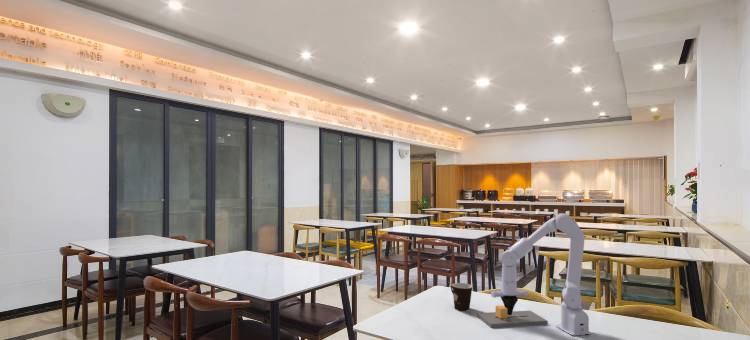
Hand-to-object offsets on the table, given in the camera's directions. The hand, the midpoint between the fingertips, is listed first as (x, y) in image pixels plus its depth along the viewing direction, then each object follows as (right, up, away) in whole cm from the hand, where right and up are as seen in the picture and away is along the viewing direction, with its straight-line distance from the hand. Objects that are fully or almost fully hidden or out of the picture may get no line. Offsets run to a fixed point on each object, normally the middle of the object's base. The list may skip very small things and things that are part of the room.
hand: (508, 314), depth 156 cm
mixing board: (+1, -3, 0) cm, 3 cm away
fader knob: (-3, -1, -1) cm, 3 cm away
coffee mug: (-16, -3, +15) cm, 22 cm away
